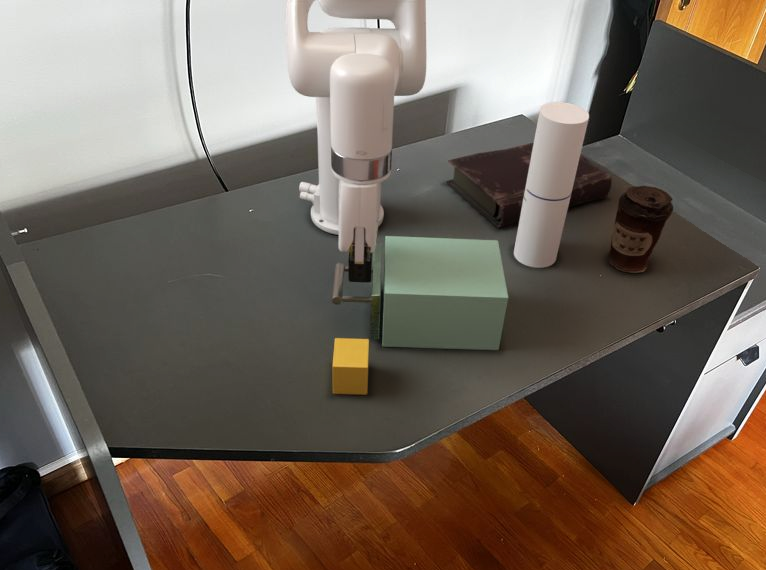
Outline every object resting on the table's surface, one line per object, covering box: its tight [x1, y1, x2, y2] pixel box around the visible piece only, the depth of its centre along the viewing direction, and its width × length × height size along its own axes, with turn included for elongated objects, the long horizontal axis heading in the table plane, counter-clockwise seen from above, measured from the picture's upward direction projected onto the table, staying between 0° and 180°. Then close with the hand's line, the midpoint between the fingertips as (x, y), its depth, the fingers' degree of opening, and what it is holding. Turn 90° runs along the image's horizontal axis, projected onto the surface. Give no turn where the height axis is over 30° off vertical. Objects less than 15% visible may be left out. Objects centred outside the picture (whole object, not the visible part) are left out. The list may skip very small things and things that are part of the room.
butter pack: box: [331, 337, 370, 396], centre depth 97 cm, size 4×6×5 cm
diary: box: [445, 142, 613, 229], centre depth 137 cm, size 19×25×5 cm
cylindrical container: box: [513, 101, 590, 269], centre depth 115 cm, size 7×7×25 cm
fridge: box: [381, 235, 509, 351], centre depth 107 cm, size 17×14×10 cm
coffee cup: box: [608, 185, 674, 274], centre depth 119 cm, size 9×8×13 cm
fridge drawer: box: [331, 242, 383, 340], centre depth 106 cm, size 21×12×8 cm, turn 91°
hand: (360, 278), depth 104 cm, fingers closed
